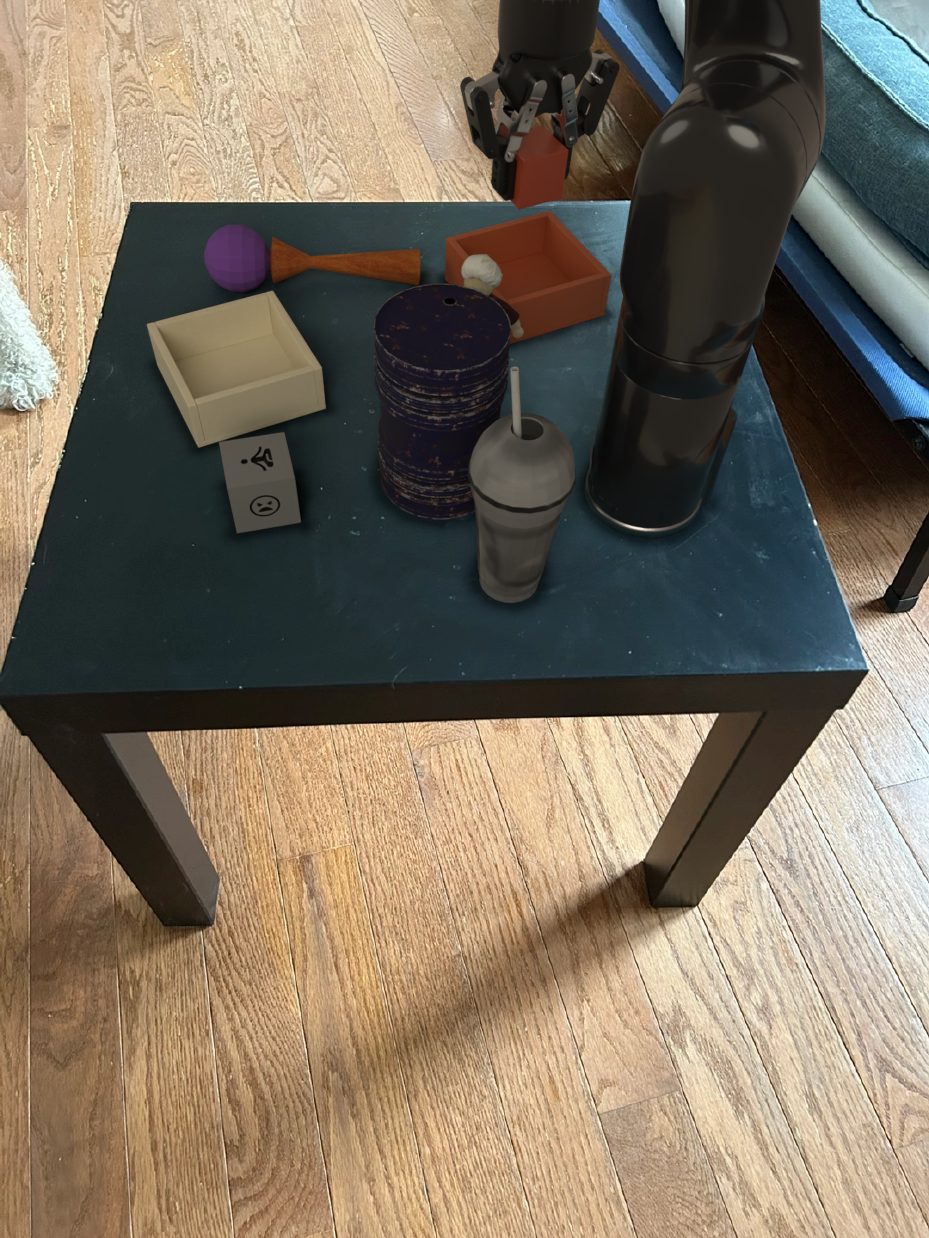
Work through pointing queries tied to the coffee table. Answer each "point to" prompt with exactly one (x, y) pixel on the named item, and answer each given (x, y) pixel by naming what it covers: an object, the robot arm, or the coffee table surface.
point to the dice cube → (260, 482)
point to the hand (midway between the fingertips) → (529, 188)
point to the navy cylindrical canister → (437, 392)
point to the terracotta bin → (536, 271)
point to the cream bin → (237, 367)
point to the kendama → (295, 261)
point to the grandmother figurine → (489, 285)
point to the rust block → (539, 169)
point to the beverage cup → (518, 498)
